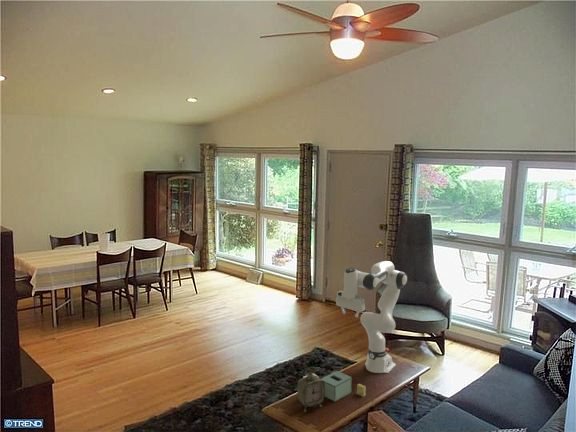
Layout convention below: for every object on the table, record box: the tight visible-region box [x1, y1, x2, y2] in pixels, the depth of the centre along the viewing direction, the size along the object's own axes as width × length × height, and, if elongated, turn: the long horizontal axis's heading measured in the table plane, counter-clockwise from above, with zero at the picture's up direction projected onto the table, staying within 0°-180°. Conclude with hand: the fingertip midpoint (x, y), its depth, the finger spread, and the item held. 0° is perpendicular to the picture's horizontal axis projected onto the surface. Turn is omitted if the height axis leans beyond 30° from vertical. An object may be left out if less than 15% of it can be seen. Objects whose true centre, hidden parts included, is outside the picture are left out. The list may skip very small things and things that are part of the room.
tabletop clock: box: [296, 366, 326, 413], centre depth 264 cm, size 14×9×25 cm, turn 119°
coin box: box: [320, 370, 353, 403], centre depth 281 cm, size 16×12×10 cm
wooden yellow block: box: [356, 383, 367, 398], centre depth 280 cm, size 2×5×6 cm, turn 44°
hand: (350, 315), depth 287 cm, fingers open, 8 cm apart
